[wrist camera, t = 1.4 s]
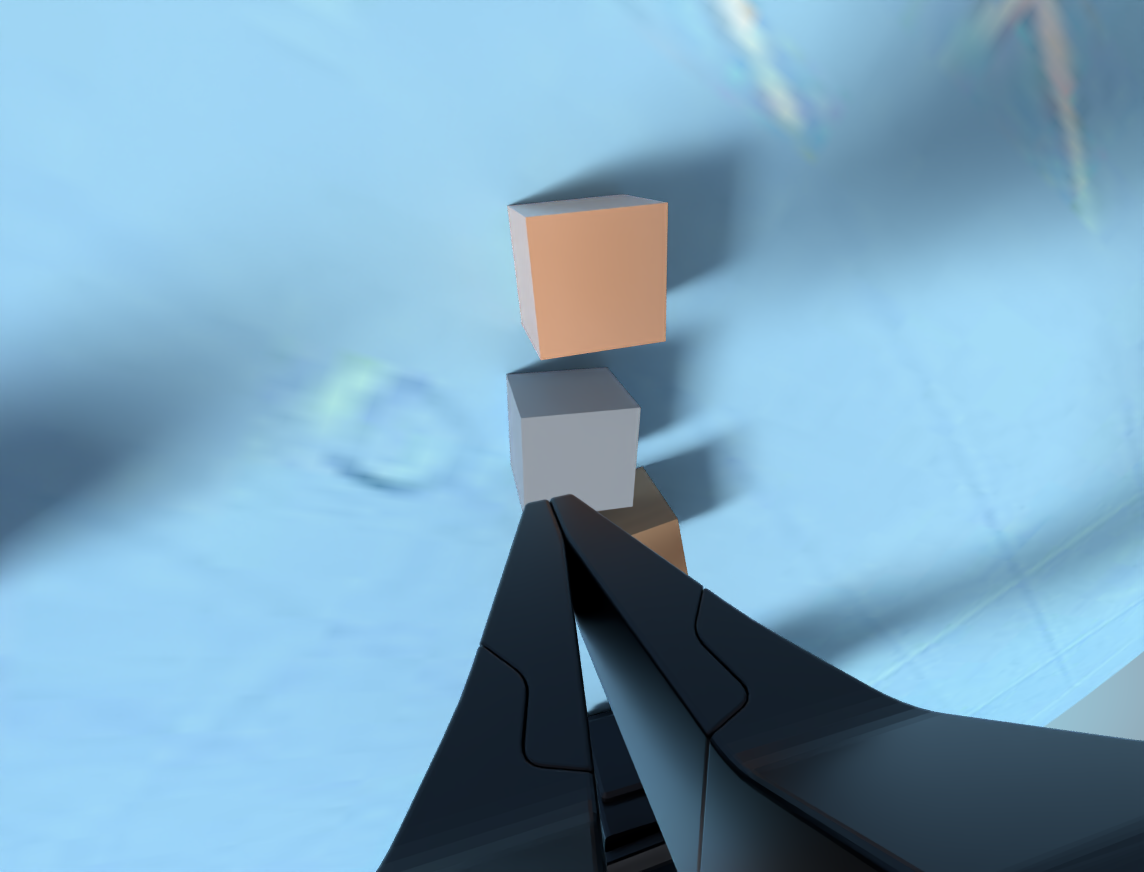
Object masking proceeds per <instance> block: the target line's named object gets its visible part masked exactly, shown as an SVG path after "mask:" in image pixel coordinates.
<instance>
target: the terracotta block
mask: <svg viewBox="0 0 1144 872" xmlns="http://www.w3.org/2000/svg"><path fill="white" fill-rule="evenodd" d="M507 208H508V216H509V224H510V232H511V241H512V249H513V257H514V265H515V273H516V282H517V290H518V298H519V306H520V314H521V323H522V326H523V328H524V330H525V332H526V333H527V335H528V337H529V339H530V341H531V343H532V345H533V347H534V348H535V350H536V352H537V354H538V356H539V358H540V360H545V359H552V358H558V357H565V356H572V355H578V354H585V353H591V352H598V351H605V350H611V349H618V348H624V347H631V346H638V345H644V344H651V343H657V342H664V341H666V284H667V227H668V202H662V201H657V200H652V199H647V198H641V197H636V196H631V195H625V194H619V195H609V196H599V197H589V198H579V199H569V200H559V201H549V202H539V203H529V204H519V205H508V206H507Z"/></svg>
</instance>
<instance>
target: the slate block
mask: <svg viewBox="0 0 1144 872" xmlns="http://www.w3.org/2000/svg"><path fill="white" fill-rule="evenodd" d="M506 380H507V400H508V420H509V441H510V461H511V468H512V472H513V476H514V480H515V484H516V488H517V492H518V496H519V500H520V504H521V507H522V511H523V510H524V507H525V505H526V504H527V503H529V502H534V501H539V500H543V499H546V500H548V501H549V502H550V499H551V498H553V497H557V496H562V495H566V494H573V495H574V496H576V497H577V498H579V499H580V500H582V501H583V502H584V503H586V504H587V505H589V506H590V507H592V508H593V509H594V510H596V511H602V510H609V509H617V508H624V507H632V506H633V496H634V483H635V471H636V459H637V447H638V435H639V423H640V411H641V407H640V406H639V405H638V404H637V403H636V401H635V400H634V399H633V398H632V397H631V395H630V394H629V393H628V392H627V391H626V389H625V388H624V387H623V386H622V385H621V383H620V382H619V381H618V380H617V379H616V377H615V376H614V375H613V374H612V373H611V371H610V370H609V369H608V368H607V367H602V368H588V369H573V370H559V371H545V372H531V373H517V374H506Z"/></svg>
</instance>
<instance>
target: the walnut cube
mask: <svg viewBox="0 0 1144 872" xmlns="http://www.w3.org/2000/svg"><path fill="white" fill-rule="evenodd" d="M597 512H599V513H600V514H601V515H603V516H604V517H606V518H607V519H609V520H610V521H611V522H613V523H614V524H616V525H617V526H619V527H620V528H621V529H623V530H624V531H626V532H627V533H628V534H630V535H631V536H633V537H634V538H636V539H637V540H638V541H640V542H641V543H643V544H644V545H646V546H647V547H648V548H650V549H651V550H653V551H654V552H656V553H657V554H658V555H660V556H661V557H663V558H664V559H665V560H667V561H668V562H670V563H671V564H673V565H674V566H675V567H677V568H678V569H680V570H681V571H683V572H684V573H685V574H687V575H688V573H687V567H686V562H685V556H684V551H683V545H682V540H681V534H680V529H679V523H678V519H677V517H676V516H675V514H674V513H673V511H672V510H671V508H670V507H669V505H668V504H667V502H666V501H665V499H664V498H663V496H662V495H661V493H660V492H659V490H658V489H657V487H656V486H655V484H654V483H653V481H652V480H651V479H650V477H649V476H648V474H647V473H646V471H645V470H644V468H643V467H640V468H637V469H636V471H635V483H634V496H633V506H632V507H624V508H617V509H609V510H602V511H597Z"/></svg>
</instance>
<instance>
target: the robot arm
mask: <svg viewBox="0 0 1144 872" xmlns="http://www.w3.org/2000/svg"><path fill="white" fill-rule="evenodd" d="M703 589H704V588H703V586H702V585H701V584H700V583H698V582H697V581H695V580H694V579H692V578H691V577H690V576H688V575H687V574H685V573H684V572H683V571H681V570H680V569H678V568H677V567H675V566H674V565H673V564H671V563H670V562H668V561H667V560H665V559H664V558H663V557H661V556H660V555H658V554H657V553H656V552H654V551H653V550H651V549H650V548H648V547H647V546H646V545H644V544H643V543H641V542H640V541H638V540H637V539H636V538H634V537H633V536H631V535H630V534H628V533H627V532H626V531H624V530H623V529H621V528H620V527H619V526H617V525H616V524H614V523H613V522H611V521H610V520H609V519H607V518H606V517H604V516H603V515H601V514H600V513H599V512H597V511H596V510H594V509H593V508H592V507H590V506H589V505H587V504H586V503H584V502H583V501H582V500H580V499H579V498H577V497H576V496H574V495H573V494H566V495H562V496H557V497H553V498H551V499H550V502H549V501H548V500H546V499H543V500H539V501H534V502H529V503H527V504H526V505H525V507H524V510H523V513H522V516H521V519H520V522H519V525H518V528H517V531H516V534H515V537H514V540H513V543H512V546H511V549H510V552H509V556H508V559H507V562H506V565H505V568H504V571H503V574H502V577H501V580H500V583H499V586H498V589H497V592H496V595H495V598H494V601H493V604H492V607H491V610H490V614H489V617H488V620H487V623H486V626H485V629H484V632H483V635H482V638H481V641H480V647H479V648H478V649H477V652H476V656H475V659H474V662H473V665H472V668H471V671H470V673H469V676H468V679H467V681H466V684H465V687H464V690H463V692H462V695H461V698H460V700H459V703H458V705H457V707H456V709H455V712H454V714H453V716H452V718H451V721H450V723H449V725H448V727H447V730H446V732H445V734H444V736H443V739H442V741H441V743H440V745H439V747H438V749H437V751H436V753H435V755H434V757H433V759H432V762H431V764H430V766H429V768H428V770H427V772H426V774H425V776H424V778H423V780H422V783H421V785H420V787H419V789H418V791H417V793H416V795H415V797H414V799H413V801H412V803H411V806H410V808H409V810H408V812H407V814H406V816H405V818H404V820H403V822H402V824H401V827H400V829H399V831H398V833H397V835H396V837H395V839H394V841H393V843H392V845H391V847H390V849H389V851H388V852H387V854H386V856H385V858H384V859H383V861H382V863H381V865H380V866H379V868H378V869H377V871H376V872H1144V741H1141V740H1132V739H1125V738H1118V737H1110V736H1103V735H1096V734H1089V733H1082V732H1074V731H1067V730H1060V729H1053V728H1046V727H1039V726H1031V725H1024V724H1017V723H1010V722H1003V721H996V720H988V719H981V718H974V717H967V716H960V715H952V714H945V713H940V712H934V711H930V710H926V709H922V708H918V707H916V706H913V705H910V704H907V703H904V702H902V701H899V700H897V699H895V698H892V697H890V696H888V695H886V694H884V693H882V692H880V691H878V690H876V689H874V688H872V687H870V686H868V685H867V684H865V683H863V682H861V681H859V680H858V679H856V678H854V677H852V676H851V675H849V674H847V673H845V672H843V671H842V670H840V669H838V668H836V667H835V666H833V665H831V664H829V663H827V662H826V661H824V660H822V659H820V658H819V657H817V656H815V655H813V654H811V653H810V652H808V651H806V650H804V649H803V648H801V647H799V646H797V645H795V644H794V643H792V642H790V641H788V640H787V639H785V638H783V637H781V636H780V635H778V634H776V633H775V632H773V631H771V630H770V629H768V628H766V627H765V626H763V625H761V624H760V623H758V622H756V621H754V620H753V619H751V618H750V617H748V616H747V615H745V614H744V613H742V612H741V611H739V610H738V609H736V608H735V607H733V606H732V605H730V604H729V603H727V602H726V601H724V600H723V599H721V598H720V597H718V596H717V595H716V594H714V593H713V592H711V591H710V590H708V589H706V588H705V589H704V590H703ZM575 619H576V622H577V624H578V627H579V630H580V633H581V635H582V638H583V640H584V642H585V645H586V647H587V650H588V652H589V655H590V657H591V660H592V662H593V665H594V667H595V670H596V672H597V675H598V677H599V679H600V682H601V684H602V687H603V689H604V692H605V694H606V697H607V699H608V702H609V704H610V707H611V709H612V711H609V712H605V713H601V714H597V715H594V716H590V717H588V715H587V708H586V700H585V692H584V684H583V676H582V669H581V661H580V653H579V645H578V638H577V630H576V622H575Z"/></svg>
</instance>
